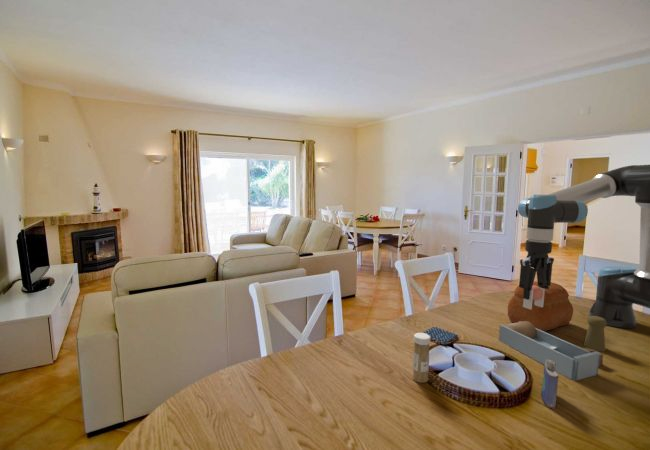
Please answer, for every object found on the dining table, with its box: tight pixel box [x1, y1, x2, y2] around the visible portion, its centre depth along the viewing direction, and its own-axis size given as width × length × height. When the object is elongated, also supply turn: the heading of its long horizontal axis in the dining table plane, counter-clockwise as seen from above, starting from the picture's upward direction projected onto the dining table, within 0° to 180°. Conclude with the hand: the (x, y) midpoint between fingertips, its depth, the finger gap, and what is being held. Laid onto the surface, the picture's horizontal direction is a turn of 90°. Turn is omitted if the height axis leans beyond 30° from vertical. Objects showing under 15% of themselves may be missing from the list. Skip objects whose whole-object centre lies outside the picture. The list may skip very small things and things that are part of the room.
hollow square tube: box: [586, 349, 604, 366], centre depth 107 cm, size 3×3×4 cm
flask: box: [540, 359, 559, 410], centre depth 89 cm, size 9×3×11 cm, turn 151°
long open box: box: [498, 321, 601, 382], centre depth 111 cm, size 10×27×8 cm, turn 20°
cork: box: [583, 316, 608, 352], centre depth 118 cm, size 6×6×11 cm
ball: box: [532, 285, 543, 300], centre depth 115 cm, size 5×5×5 cm
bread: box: [507, 280, 574, 332], centre depth 138 cm, size 18×22×17 cm
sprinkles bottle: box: [412, 332, 431, 384], centre depth 98 cm, size 5×5×14 cm
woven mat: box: [423, 326, 460, 345], centre depth 125 cm, size 10×11×2 cm
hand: (533, 306), depth 115 cm, fingers closed on ball, 5 cm apart
